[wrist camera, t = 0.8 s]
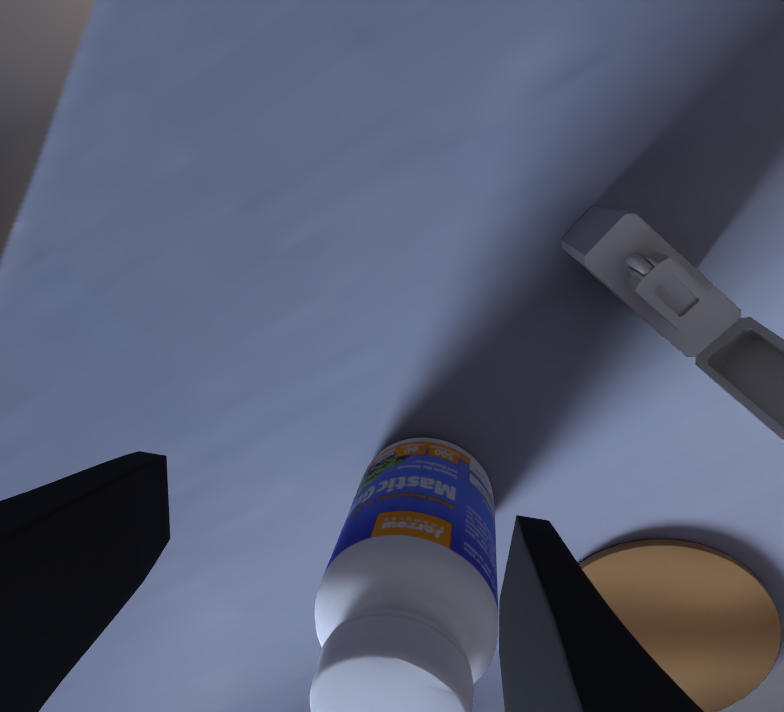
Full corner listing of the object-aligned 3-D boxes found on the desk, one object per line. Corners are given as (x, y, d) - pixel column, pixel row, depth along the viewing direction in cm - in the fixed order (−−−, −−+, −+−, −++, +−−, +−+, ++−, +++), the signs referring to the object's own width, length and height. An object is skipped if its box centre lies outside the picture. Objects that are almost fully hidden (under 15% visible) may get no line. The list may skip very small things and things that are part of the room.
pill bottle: (461, 414, 21) (447, 599, 11) (514, 528, 22) (539, 778, 13) (339, 459, 22) (240, 655, 13) (394, 563, 23) (340, 811, 14)
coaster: (813, 674, 22) (819, 682, 21) (605, 735, 24) (607, 744, 24) (717, 503, 20) (722, 509, 20) (505, 589, 23) (505, 595, 22)
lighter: (557, 243, 18) (613, 287, 11) (595, 202, 18) (683, 217, 10) (706, 376, 19) (858, 506, 11) (748, 341, 18) (937, 453, 11)
